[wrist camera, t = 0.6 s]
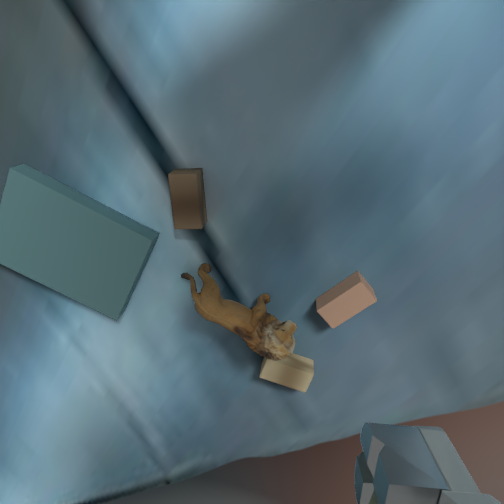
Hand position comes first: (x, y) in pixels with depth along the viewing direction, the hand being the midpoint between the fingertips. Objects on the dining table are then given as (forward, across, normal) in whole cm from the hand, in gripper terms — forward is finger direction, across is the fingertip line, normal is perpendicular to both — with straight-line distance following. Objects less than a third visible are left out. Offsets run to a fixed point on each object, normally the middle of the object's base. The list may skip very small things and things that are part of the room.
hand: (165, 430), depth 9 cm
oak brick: (+40, -6, +22) cm, 47 cm away
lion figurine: (+40, 0, +13) cm, 42 cm away
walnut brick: (+39, +6, +2) cm, 40 cm away
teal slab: (+40, +20, +9) cm, 46 cm away
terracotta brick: (+39, -12, +12) cm, 43 cm away
